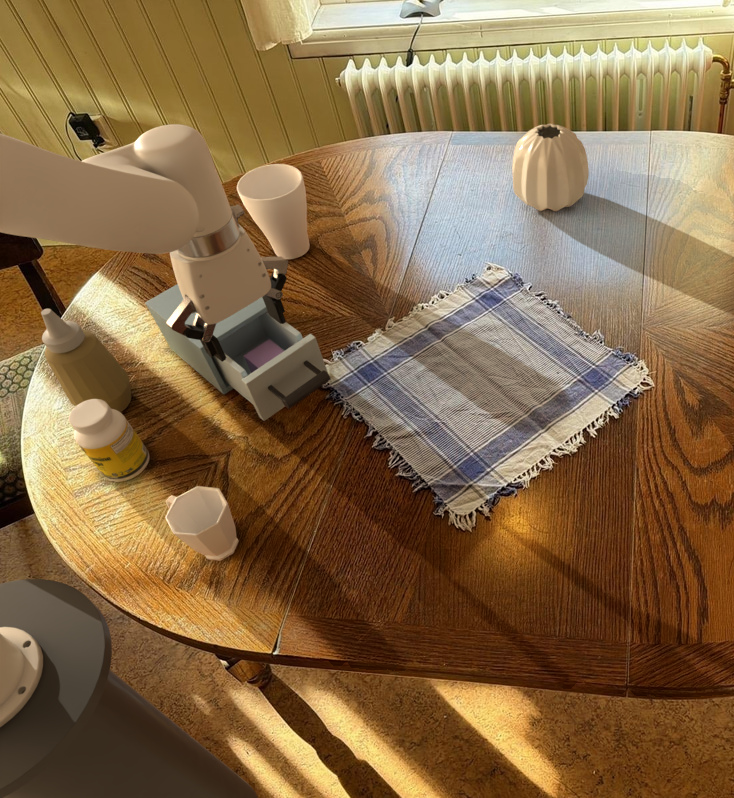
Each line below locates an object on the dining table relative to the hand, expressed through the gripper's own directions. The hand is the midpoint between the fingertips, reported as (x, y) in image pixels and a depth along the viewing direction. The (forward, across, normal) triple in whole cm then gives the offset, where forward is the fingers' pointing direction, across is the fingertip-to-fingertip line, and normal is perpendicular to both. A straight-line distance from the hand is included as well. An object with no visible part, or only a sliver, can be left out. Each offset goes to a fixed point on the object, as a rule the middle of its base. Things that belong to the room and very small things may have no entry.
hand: (248, 337), depth 101 cm
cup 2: (+10, -22, -25) cm, 34 cm away
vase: (+9, -62, 0) cm, 63 cm away
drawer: (+9, -1, +1) cm, 10 cm away
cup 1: (+11, +20, +16) cm, 28 cm away
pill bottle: (+11, +21, -3) cm, 24 cm away
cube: (+8, -1, 0) cm, 8 cm away
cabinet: (+10, -1, -11) cm, 15 cm away
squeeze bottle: (+11, +17, -15) cm, 25 cm away
